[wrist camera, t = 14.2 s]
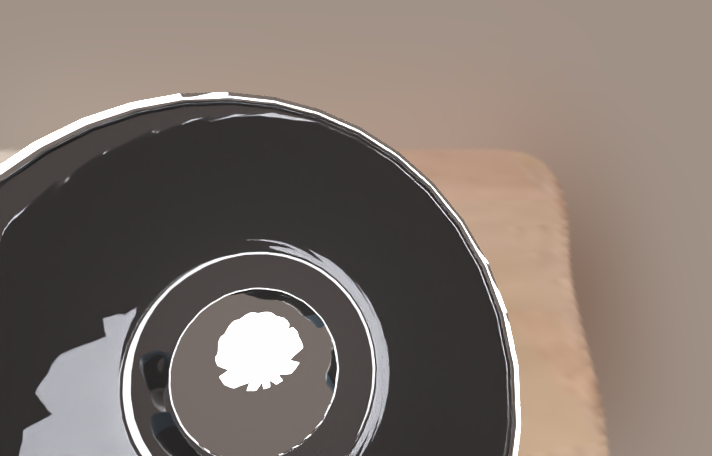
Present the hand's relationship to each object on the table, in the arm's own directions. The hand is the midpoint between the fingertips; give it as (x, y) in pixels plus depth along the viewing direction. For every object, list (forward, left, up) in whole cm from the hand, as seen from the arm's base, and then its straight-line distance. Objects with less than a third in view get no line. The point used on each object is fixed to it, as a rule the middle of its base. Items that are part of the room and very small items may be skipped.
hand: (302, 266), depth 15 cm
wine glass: (0, -3, -6) cm, 7 cm away
